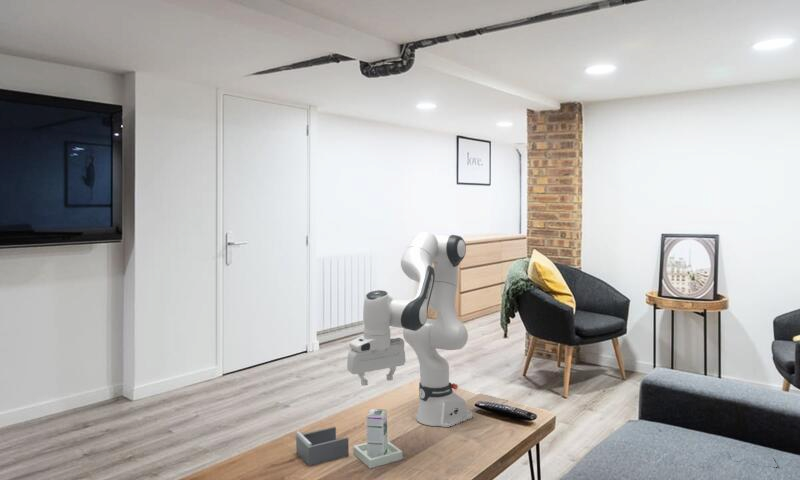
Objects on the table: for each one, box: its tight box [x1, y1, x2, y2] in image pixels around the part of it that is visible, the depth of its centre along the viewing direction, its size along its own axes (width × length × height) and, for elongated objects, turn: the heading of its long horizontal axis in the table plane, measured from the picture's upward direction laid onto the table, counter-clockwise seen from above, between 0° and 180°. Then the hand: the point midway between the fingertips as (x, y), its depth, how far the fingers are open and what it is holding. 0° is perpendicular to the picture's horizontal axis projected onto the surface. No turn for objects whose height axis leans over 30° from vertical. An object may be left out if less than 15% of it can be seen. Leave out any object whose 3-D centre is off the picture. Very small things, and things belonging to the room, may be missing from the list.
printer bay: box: [295, 425, 349, 467], centre depth 184 cm, size 14×11×7 cm
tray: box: [352, 439, 403, 469], centre depth 183 cm, size 12×12×3 cm
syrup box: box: [365, 408, 388, 458], centre depth 182 cm, size 6×6×14 cm
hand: (377, 382), depth 181 cm, fingers open, 8 cm apart
